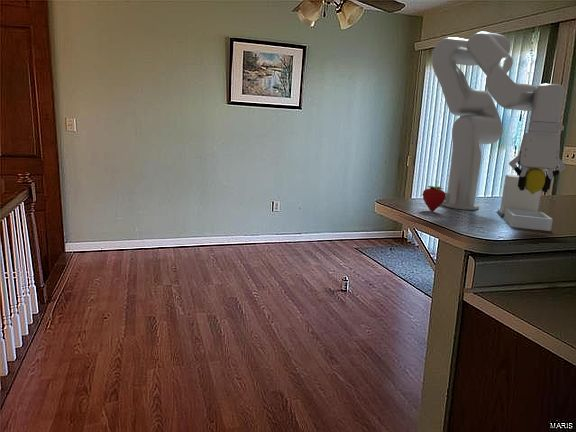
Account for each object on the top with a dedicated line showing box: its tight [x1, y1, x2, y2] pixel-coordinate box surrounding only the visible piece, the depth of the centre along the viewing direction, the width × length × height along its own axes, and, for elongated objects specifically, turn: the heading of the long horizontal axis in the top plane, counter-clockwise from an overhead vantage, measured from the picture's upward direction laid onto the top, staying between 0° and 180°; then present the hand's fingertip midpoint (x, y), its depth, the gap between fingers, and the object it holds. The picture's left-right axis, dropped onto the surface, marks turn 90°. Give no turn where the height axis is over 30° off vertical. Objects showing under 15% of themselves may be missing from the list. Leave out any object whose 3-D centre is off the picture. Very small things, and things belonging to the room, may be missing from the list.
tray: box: [503, 209, 554, 232], centre depth 139 cm, size 11×11×4 cm
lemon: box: [525, 168, 546, 194], centre depth 136 cm, size 6×6×8 cm
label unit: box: [497, 174, 542, 219], centre depth 149 cm, size 11×7×13 cm, turn 76°
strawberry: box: [422, 180, 446, 212], centre depth 151 cm, size 6×8×10 cm
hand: (532, 190), depth 136 cm, fingers closed on lemon, 5 cm apart
